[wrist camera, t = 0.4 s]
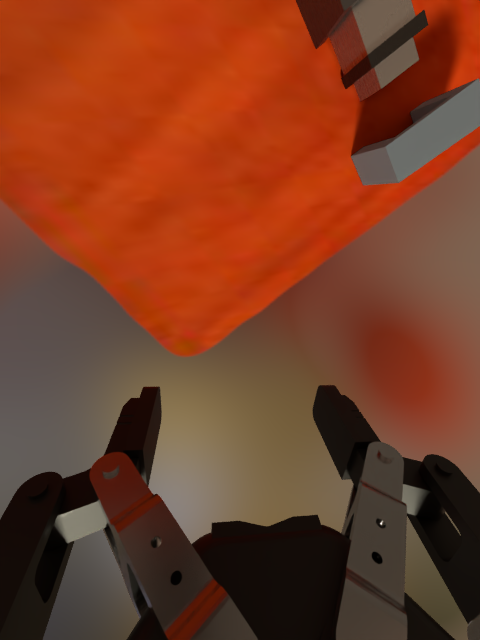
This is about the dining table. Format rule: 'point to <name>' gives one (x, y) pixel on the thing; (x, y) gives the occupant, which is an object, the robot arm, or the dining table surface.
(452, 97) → the grey block
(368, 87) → the light grey square bar
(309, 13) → the sleeve
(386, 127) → the dining table surface
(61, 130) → the dining table surface
